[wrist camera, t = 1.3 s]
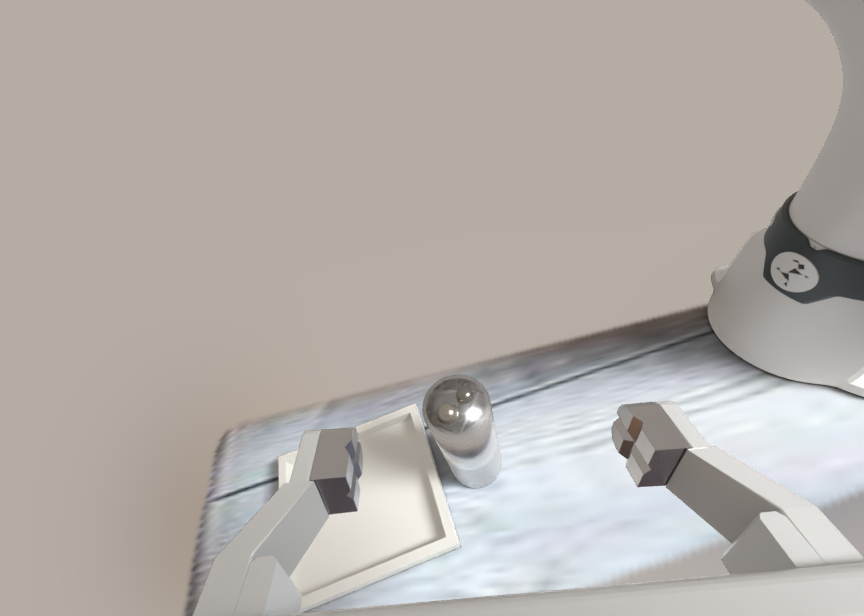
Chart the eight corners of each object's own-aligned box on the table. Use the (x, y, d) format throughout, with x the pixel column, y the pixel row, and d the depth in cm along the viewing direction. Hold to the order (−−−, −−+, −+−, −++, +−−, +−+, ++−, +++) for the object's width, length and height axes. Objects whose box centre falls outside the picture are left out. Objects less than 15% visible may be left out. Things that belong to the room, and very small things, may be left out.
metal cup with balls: (488, 428, 39) (473, 360, 29) (509, 476, 35) (501, 418, 25) (443, 446, 39) (412, 384, 28) (460, 496, 35) (431, 446, 25)
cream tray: (419, 411, 42) (415, 403, 40) (461, 547, 32) (457, 543, 31) (287, 462, 41) (278, 457, 40) (291, 617, 32) (280, 617, 30)
